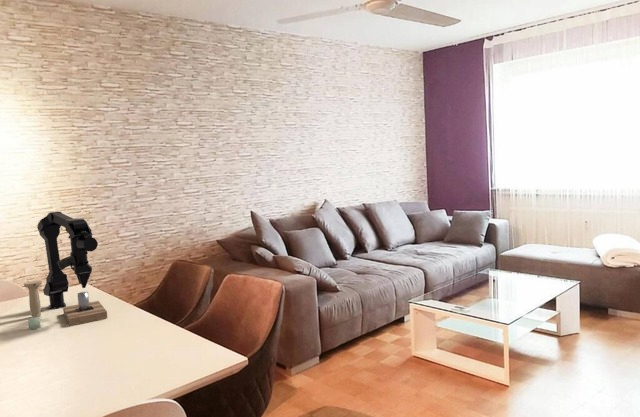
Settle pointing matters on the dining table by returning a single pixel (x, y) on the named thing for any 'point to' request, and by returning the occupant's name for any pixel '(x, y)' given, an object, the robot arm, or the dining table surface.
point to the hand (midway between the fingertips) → (82, 285)
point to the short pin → (34, 323)
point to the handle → (34, 297)
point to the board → (84, 313)
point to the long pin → (83, 301)
